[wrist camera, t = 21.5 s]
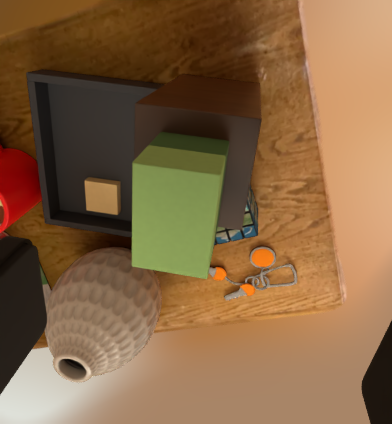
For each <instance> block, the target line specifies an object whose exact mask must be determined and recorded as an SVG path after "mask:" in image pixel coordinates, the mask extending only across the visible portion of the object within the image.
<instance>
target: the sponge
mask: <svg viewBox="0 0 392 424" xmlns="http://www.w3.org/2000/svg"><path fill="white" fill-rule="evenodd" d="M228 149H229V141H227V140H220V139H212V138H205V137H197V136H190V135H182V134H175V133H167V132H160V133H159V134H158V135H157V136H156V138H155V139H154V140H153V141H152V142H151V143H150V144H149V145H148V146H147V147H146V148H145V149H144V150H143V152H142V153H141V154H140V155H139V156H138V157H137V158H136V159H135V160H134V161H133V163H132V266H133V267H139V268H144V269H150V270H156V271H162V272H168V273H174V274H180V275H185V276H191V277H197V278H203V279H207V278H208V273H209V268H210V263H211V258H212V253H213V248H214V243H215V238H216V233H217V228H218V221H219V214H220V206H221V199H222V192H223V185H224V178H225V170H226V163H227V156H228Z"/></svg>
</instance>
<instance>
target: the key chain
mask: <svg viewBox="0 0 392 424" xmlns="http://www.w3.org/2000/svg"><path fill="white" fill-rule="evenodd" d="M275 260H276V255H275V252H274V251H273V250H272V249H270V248H268V247H264V246H260V247H256V248H255V249H253V250H252V252H251V253H250V261H251V263H252V264H253V265H254V266H255V267H258V268H262V269H261V273H260V274H258V275H255V276H248V277H247V278H246V279H245V283H236V282H233V281H231V280H230V279H228V278H227V277H226V271H225V270H224V269H223V268H221V267H216V268H214V269H213V268H212V267H211V268H209V274H211V276H212V278H213V279H215V280H223V279H224V278H225V279H226V280H227V281H229V282H230V283H233V284H236V285H241V286H240V290H238V291H236V292H233V293H231V294H228V295H226V296H224V298H225V299H226V300H229V301H230V300H231V299H232V298H233V299H235V297H236V298H238V297H239V296H244V295H247V296H251V295H253V294H254V292H255V288H256V289H258V290H264V289H267V287H280V286H290V285H294V284H296V283H297V273H296V271H295V269H294V267H293V266H292V265H291V264H290V263H289V264H285V265H283V266H280V267H277V268H274V269H270V270H269V269H268V268H269V267H271V266H272V265H273V264H274V263H275ZM282 267H290V268H291V269H292V271H293V274H294V281H293V282H290V283H283V284H270V285H269V283H270V282H269V279H268V278H267V277H266V276H265V274H267V273H268V272H270V271H273V270H276V269H279V268H282ZM265 268H267V269H268V270H267V271H263V272H262V270H263V269H265ZM257 277H260V278H261V282H262V284H263V286H264V287H263V288H259V287H257V286H258V285H259V282H260V281H259V279H258V278H257ZM263 277H264V278H265V279H266V281H267V284H265V282H264V278H263ZM249 278H252V285H251V284H248V283H247V280H248V279H249ZM255 279H256V280H257V284H255V283H254V280H255Z"/></svg>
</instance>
